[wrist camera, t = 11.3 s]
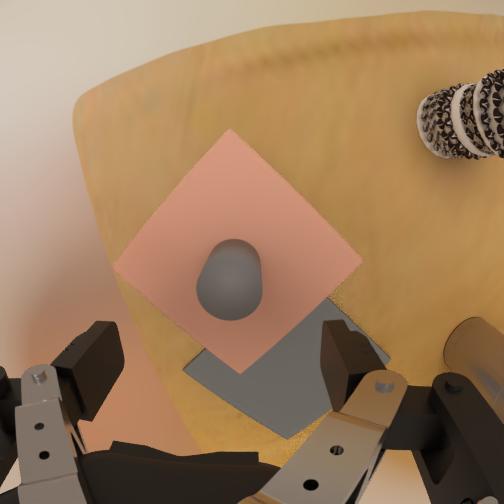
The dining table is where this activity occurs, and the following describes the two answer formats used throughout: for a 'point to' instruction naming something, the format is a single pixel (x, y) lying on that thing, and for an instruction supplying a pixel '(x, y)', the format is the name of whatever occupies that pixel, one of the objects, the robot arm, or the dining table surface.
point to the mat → (279, 376)
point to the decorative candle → (465, 119)
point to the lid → (236, 255)
